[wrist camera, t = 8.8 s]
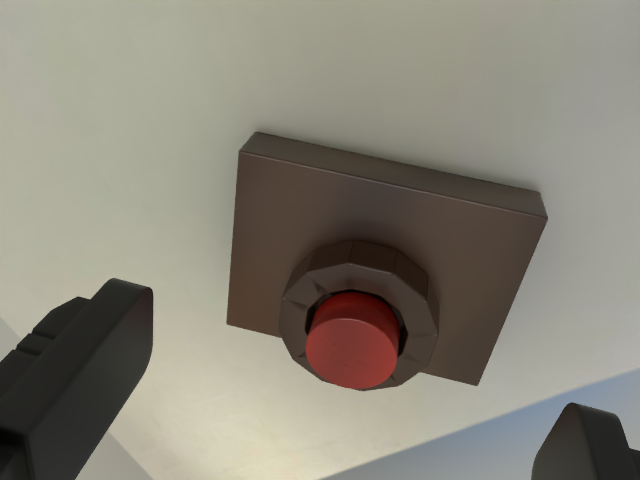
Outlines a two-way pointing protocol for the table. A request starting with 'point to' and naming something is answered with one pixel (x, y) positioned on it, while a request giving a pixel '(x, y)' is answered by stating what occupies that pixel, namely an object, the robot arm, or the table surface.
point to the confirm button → (353, 340)
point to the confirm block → (378, 251)
